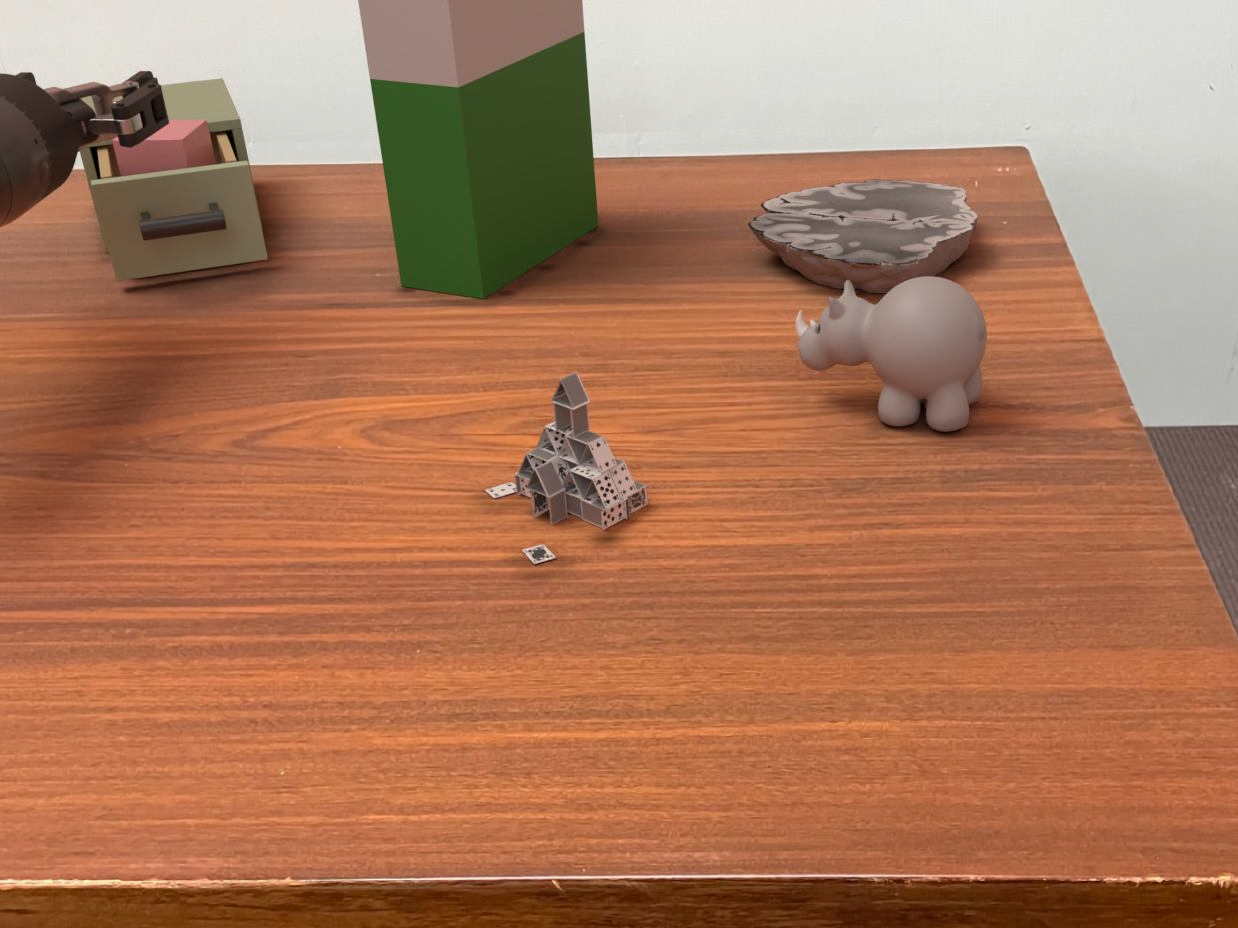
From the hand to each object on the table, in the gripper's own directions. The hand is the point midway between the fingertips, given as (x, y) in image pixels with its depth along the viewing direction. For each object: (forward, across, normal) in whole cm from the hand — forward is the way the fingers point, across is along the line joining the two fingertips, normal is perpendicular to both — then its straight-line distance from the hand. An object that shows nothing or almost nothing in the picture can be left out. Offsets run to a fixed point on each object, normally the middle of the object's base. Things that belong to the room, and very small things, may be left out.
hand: (91, 86), depth 106 cm
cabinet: (+20, +4, +16) cm, 26 cm away
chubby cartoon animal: (-19, -55, +15) cm, 61 cm away
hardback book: (+9, -26, +16) cm, 32 cm away
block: (+9, 0, +13) cm, 16 cm away
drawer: (+8, -1, +15) cm, 17 cm away
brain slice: (+8, -54, +15) cm, 57 cm away
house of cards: (-33, -36, +15) cm, 51 cm away
